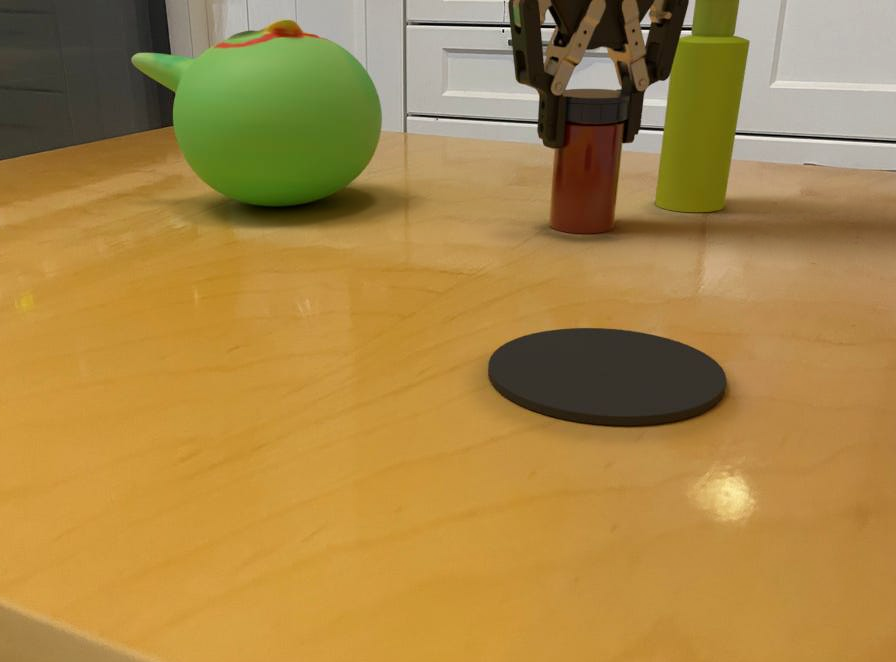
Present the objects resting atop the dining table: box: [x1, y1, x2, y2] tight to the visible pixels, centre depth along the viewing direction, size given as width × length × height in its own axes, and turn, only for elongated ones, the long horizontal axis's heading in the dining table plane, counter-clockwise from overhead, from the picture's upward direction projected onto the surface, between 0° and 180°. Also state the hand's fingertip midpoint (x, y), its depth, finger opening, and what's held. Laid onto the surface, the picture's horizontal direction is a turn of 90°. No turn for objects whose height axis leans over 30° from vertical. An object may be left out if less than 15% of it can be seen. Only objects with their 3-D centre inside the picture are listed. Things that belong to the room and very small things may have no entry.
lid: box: [563, 88, 630, 123], centre depth 72 cm, size 6×6×2 cm
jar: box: [548, 121, 625, 235], centre depth 74 cm, size 5×5×9 cm
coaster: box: [487, 327, 727, 427], centre depth 48 cm, size 12×12×1 cm
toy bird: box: [131, 18, 383, 207], centre depth 80 cm, size 18×17×15 cm
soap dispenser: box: [654, 0, 751, 213], centre depth 78 cm, size 6×7×20 cm
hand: (587, 143), depth 73 cm, fingers closed on lid, 5 cm apart
